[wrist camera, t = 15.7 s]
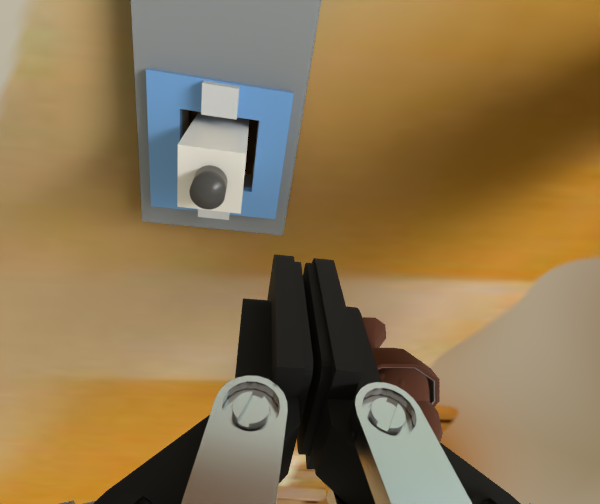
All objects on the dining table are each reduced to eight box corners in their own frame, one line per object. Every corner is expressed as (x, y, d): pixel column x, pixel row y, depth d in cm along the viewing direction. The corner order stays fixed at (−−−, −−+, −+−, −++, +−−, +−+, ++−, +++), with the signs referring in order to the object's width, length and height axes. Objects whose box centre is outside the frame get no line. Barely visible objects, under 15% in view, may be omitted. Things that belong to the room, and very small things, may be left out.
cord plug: (249, 117, 31) (245, 164, 21) (244, 164, 33) (239, 227, 23) (199, 110, 31) (170, 154, 20) (198, 158, 33) (171, 221, 22)
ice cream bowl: (365, 283, 41) (413, 399, 29) (425, 329, 46) (490, 447, 33) (300, 339, 45) (317, 466, 32) (362, 377, 49) (399, 501, 37)
